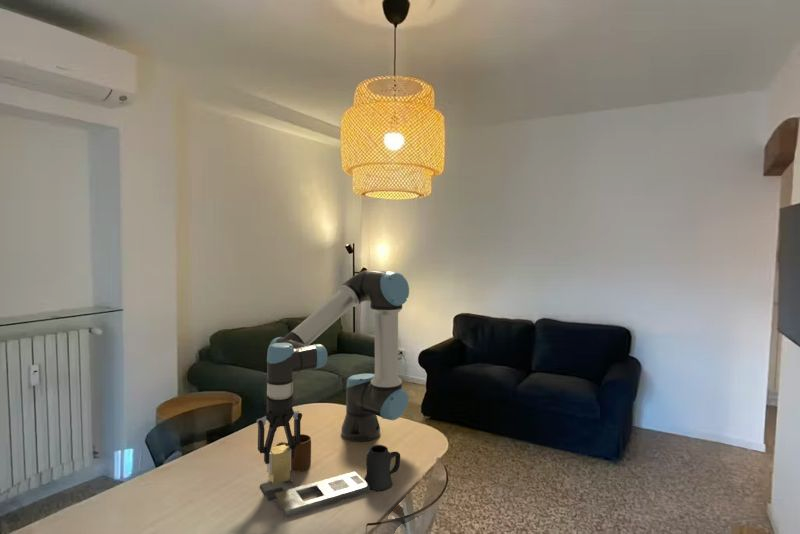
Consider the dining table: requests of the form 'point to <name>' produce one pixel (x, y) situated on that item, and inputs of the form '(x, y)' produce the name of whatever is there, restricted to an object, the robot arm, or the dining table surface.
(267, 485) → the rubber mat
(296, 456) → the mug
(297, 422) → the robot arm
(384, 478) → the mug
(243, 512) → the dining table surface
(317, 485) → the grey board with slots
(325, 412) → the dining table surface
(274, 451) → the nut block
